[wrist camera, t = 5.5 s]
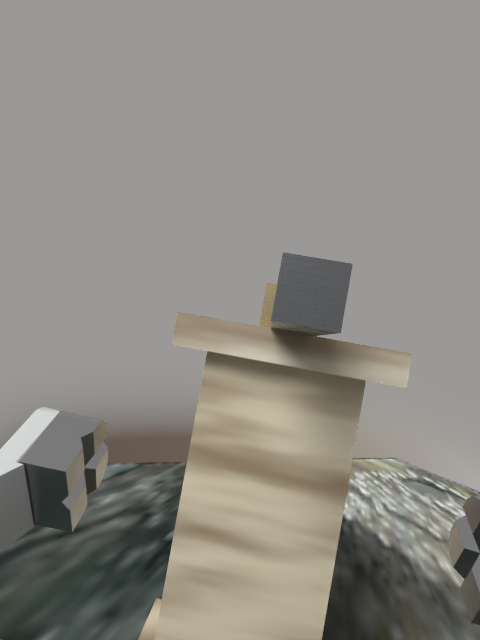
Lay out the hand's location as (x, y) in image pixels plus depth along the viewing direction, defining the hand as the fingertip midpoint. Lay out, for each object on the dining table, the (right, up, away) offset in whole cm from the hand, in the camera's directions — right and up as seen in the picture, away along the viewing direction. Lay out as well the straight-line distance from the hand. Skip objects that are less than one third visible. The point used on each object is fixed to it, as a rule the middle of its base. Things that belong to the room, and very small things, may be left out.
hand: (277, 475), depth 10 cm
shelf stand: (-2, -23, +21) cm, 31 cm away
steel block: (+2, +3, +17) cm, 17 cm away
